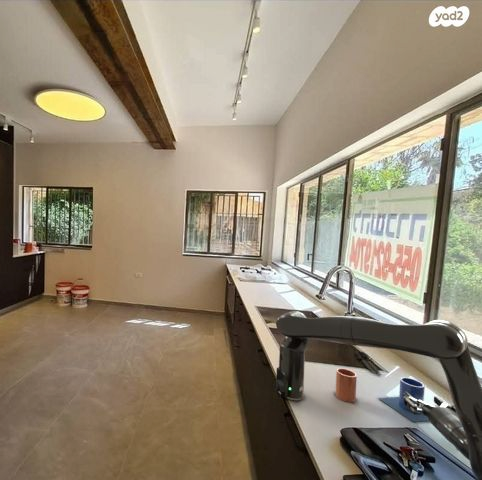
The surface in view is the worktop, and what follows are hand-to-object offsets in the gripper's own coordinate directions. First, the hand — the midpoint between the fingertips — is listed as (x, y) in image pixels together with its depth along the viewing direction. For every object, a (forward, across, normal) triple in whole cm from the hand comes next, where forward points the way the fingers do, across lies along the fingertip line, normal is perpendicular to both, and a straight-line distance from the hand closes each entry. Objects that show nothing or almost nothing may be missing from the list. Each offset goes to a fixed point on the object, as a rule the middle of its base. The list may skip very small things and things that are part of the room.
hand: (419, 396), depth 96 cm
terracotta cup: (+5, +21, +8) cm, 23 cm away
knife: (+41, 0, +8) cm, 42 cm away
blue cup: (+5, 0, +8) cm, 9 cm away
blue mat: (+5, 0, +8) cm, 9 cm away
